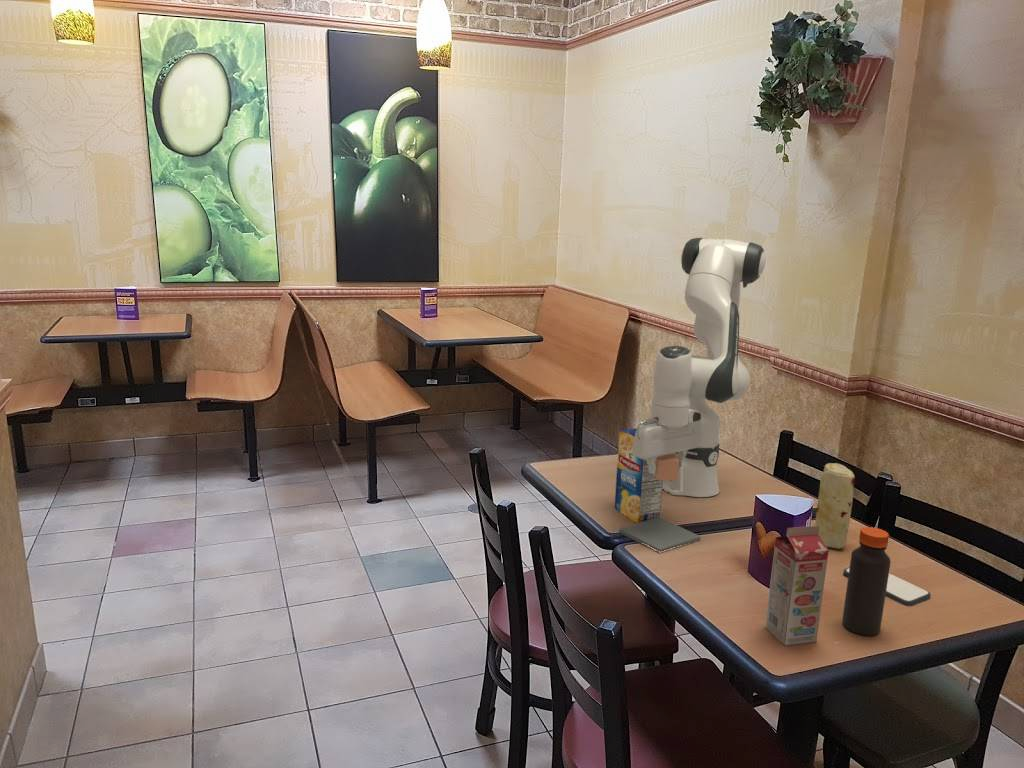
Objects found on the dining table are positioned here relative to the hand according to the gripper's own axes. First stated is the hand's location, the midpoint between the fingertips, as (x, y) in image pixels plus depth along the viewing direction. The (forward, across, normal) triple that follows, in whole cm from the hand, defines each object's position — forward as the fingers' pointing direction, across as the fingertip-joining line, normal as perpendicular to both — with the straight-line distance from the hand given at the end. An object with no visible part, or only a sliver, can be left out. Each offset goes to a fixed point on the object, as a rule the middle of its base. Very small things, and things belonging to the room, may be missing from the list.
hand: (665, 470), depth 181 cm
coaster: (+17, 0, 0) cm, 17 cm away
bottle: (+18, +3, -51) cm, 54 cm away
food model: (+17, +33, -25) cm, 45 cm away
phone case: (+18, +24, -44) cm, 53 cm away
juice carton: (+18, -11, -45) cm, 49 cm away
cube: (+2, 0, 0) cm, 2 cm away
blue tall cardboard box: (+17, +5, +13) cm, 22 cm away
